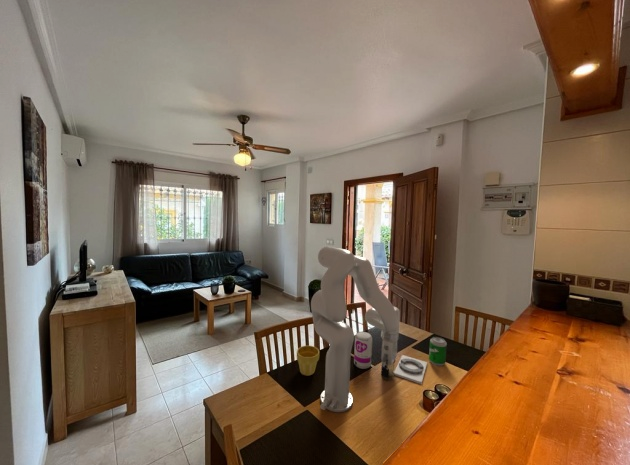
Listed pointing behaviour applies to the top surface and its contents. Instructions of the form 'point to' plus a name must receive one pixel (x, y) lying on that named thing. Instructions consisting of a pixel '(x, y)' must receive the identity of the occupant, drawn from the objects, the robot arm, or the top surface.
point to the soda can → (437, 351)
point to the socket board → (411, 369)
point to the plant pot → (307, 359)
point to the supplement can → (363, 350)
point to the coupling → (390, 372)
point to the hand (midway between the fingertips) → (387, 371)
